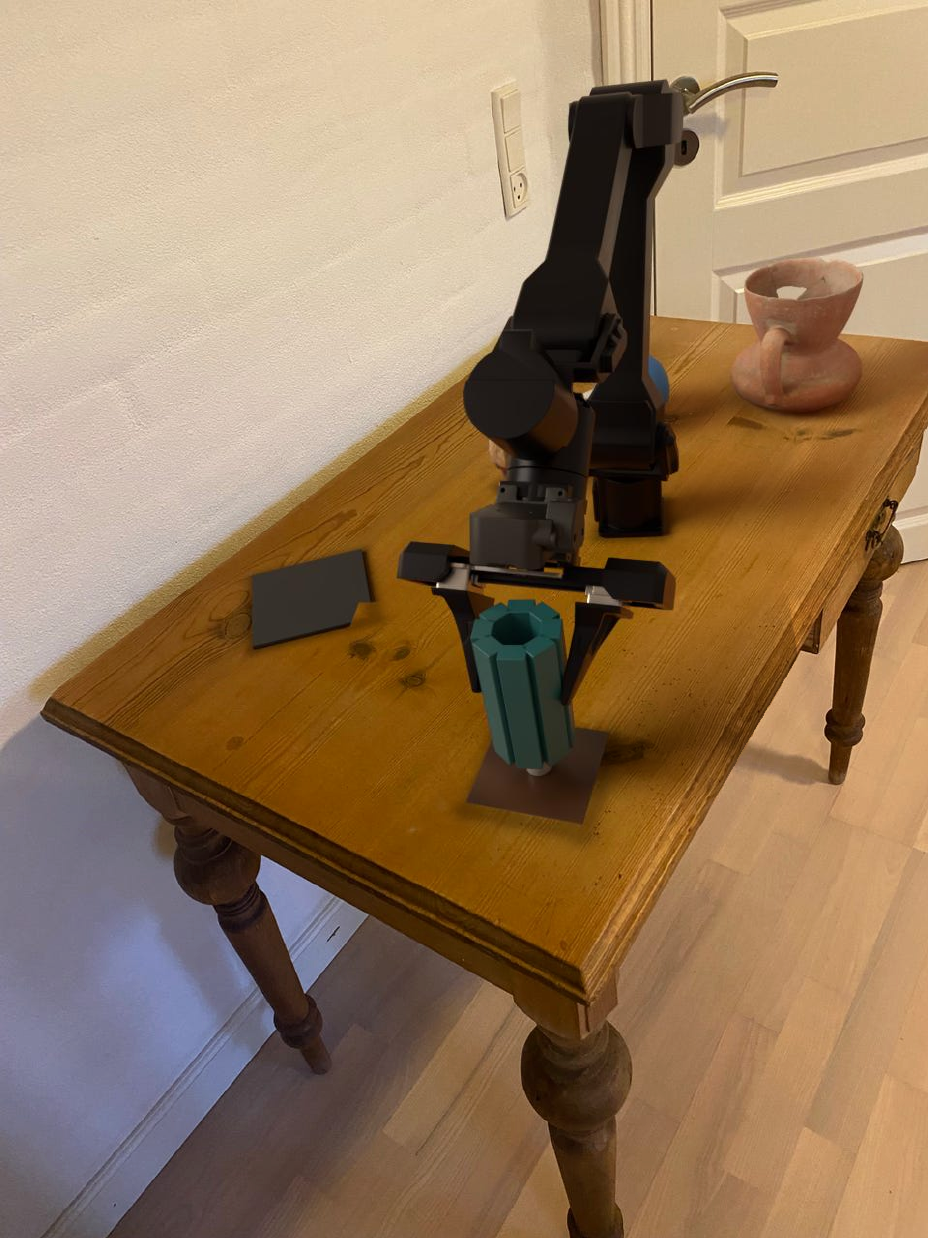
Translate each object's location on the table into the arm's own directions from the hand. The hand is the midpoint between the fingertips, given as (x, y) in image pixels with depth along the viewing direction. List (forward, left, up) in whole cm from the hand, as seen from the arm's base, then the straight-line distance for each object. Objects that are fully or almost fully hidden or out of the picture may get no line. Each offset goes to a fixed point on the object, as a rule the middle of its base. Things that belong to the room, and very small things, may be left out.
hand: (519, 699), depth 62 cm
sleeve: (0, -1, -6) cm, 6 cm away
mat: (+26, -23, -10) cm, 36 cm away
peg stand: (0, -1, -10) cm, 10 cm away
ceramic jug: (-24, -59, -10) cm, 65 cm away
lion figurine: (+6, -45, -10) cm, 47 cm away
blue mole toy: (-4, -55, -10) cm, 56 cm away
